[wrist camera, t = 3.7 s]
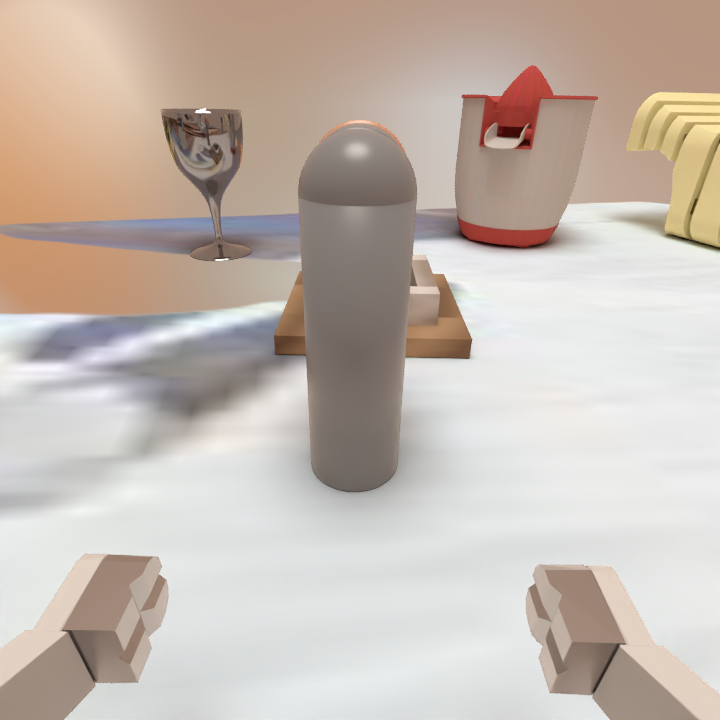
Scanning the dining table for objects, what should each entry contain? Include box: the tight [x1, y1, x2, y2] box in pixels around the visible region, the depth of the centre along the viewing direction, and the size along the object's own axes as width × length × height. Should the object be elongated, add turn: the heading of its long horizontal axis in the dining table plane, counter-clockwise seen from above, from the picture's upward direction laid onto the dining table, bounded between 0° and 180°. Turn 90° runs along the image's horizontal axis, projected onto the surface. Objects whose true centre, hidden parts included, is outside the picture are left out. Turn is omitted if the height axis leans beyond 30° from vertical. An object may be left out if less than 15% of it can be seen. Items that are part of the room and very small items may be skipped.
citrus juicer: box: [455, 65, 598, 248], centre depth 58 cm, size 16×17×20 cm
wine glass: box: [161, 109, 251, 261], centre depth 51 cm, size 8×8×15 cm
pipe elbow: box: [298, 120, 417, 492], centre depth 21 cm, size 8×5×15 cm, turn 179°
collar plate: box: [274, 255, 472, 358], centre depth 38 cm, size 14×14×4 cm
